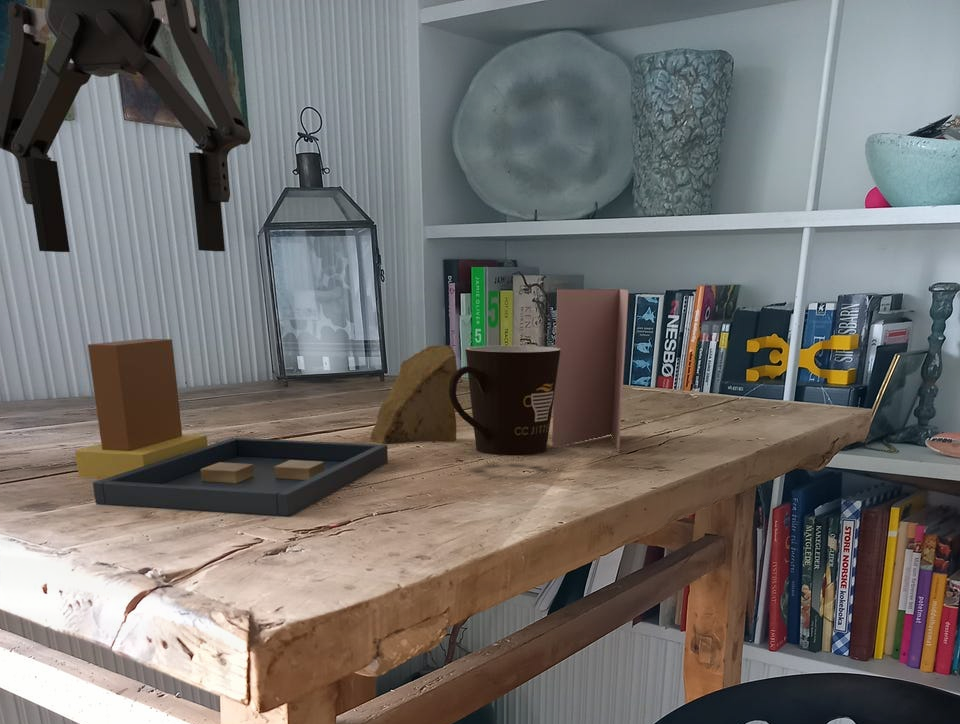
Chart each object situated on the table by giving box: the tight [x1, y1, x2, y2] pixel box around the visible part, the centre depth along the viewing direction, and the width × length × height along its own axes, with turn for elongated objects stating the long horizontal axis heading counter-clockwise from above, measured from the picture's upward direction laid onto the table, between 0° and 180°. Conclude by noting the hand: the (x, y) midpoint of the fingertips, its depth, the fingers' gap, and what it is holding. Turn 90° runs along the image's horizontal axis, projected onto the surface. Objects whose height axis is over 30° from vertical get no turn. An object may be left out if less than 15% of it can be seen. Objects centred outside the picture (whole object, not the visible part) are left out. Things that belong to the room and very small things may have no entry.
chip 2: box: [274, 460, 324, 480], centre depth 74 cm, size 3×3×1 cm
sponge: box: [74, 338, 209, 479], centre depth 76 cm, size 10×6×11 cm, turn 167°
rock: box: [369, 344, 458, 445], centre depth 94 cm, size 11×9×10 cm
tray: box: [92, 437, 389, 518], centre depth 73 cm, size 15×21×2 cm
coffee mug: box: [449, 345, 561, 457], centre depth 86 cm, size 12×9×10 cm
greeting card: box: [551, 288, 630, 454], centre depth 94 cm, size 11×7×15 cm, turn 141°
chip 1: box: [201, 462, 254, 484], centre depth 73 cm, size 3×3×1 cm
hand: (131, 251), depth 72 cm, fingers open, 13 cm apart
